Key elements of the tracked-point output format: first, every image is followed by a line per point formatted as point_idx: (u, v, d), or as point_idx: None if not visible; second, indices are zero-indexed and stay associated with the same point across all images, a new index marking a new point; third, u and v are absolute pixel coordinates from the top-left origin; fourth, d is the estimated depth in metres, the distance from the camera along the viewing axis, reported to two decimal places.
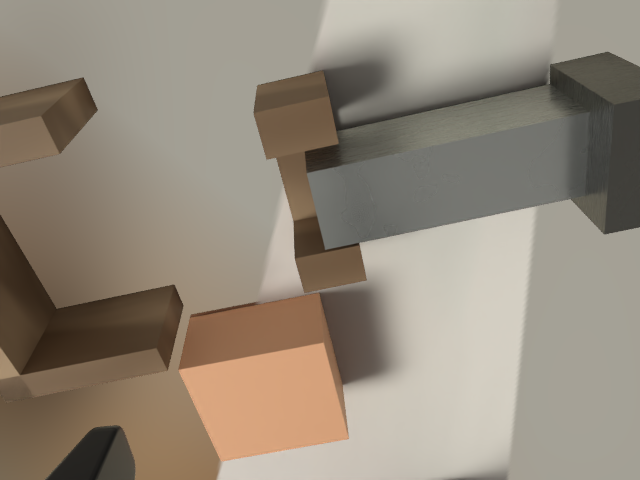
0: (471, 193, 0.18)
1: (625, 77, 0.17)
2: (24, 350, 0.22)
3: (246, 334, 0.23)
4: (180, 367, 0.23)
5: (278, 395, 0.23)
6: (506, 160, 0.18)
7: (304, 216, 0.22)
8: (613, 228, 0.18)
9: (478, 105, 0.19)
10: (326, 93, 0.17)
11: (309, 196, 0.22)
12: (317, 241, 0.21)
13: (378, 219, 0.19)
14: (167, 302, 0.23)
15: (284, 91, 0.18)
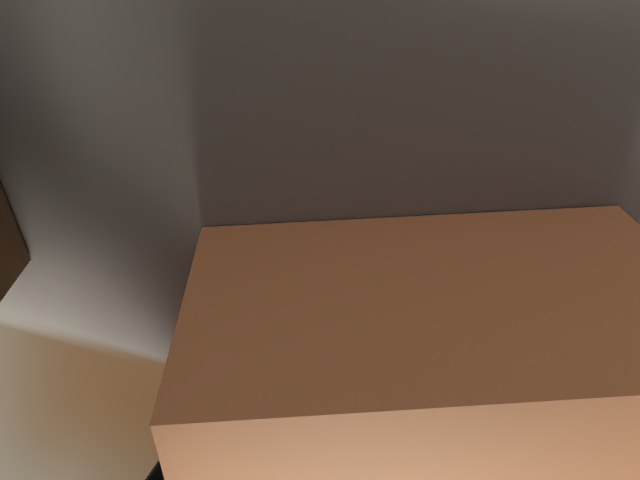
0: None
1: None
2: None
3: None
4: None
5: None
6: None
7: None
8: None
9: None
10: None
11: None
12: None
13: None
14: None
15: None
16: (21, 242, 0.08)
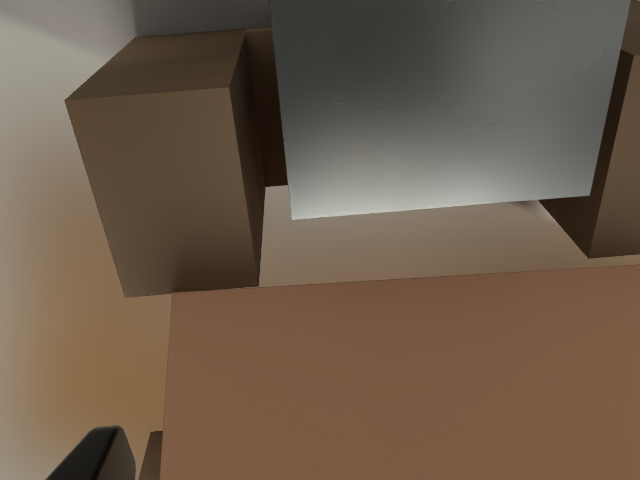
0: None
1: None
2: None
3: None
4: None
5: None
6: None
7: None
8: None
9: None
10: None
11: None
12: None
13: None
14: None
15: None
16: None
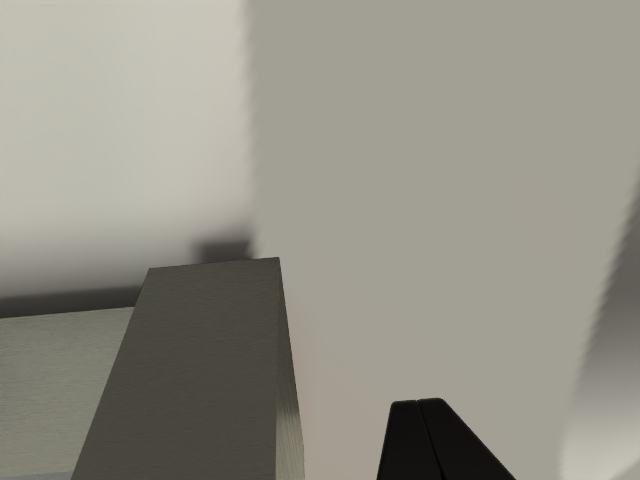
0: None
1: (210, 388, 0.06)
2: None
3: None
4: None
5: None
6: None
7: None
8: None
9: None
10: None
11: None
12: None
13: None
14: None
15: None
16: None
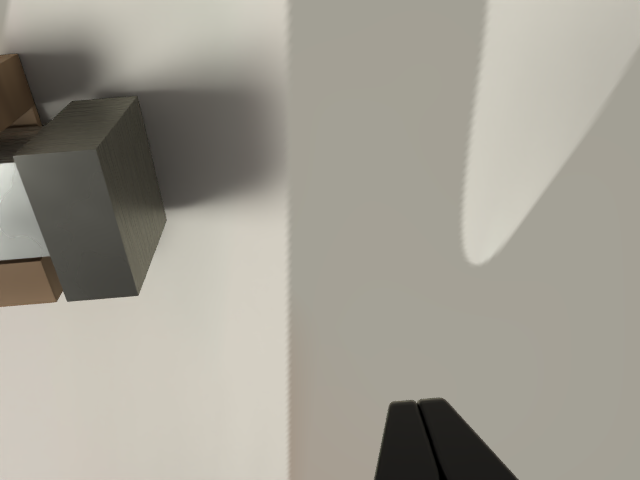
0: None
1: (86, 126, 0.15)
2: None
3: None
4: None
5: None
6: None
7: None
8: (75, 296, 0.16)
9: None
10: None
11: None
12: None
13: None
14: None
15: None
16: None
